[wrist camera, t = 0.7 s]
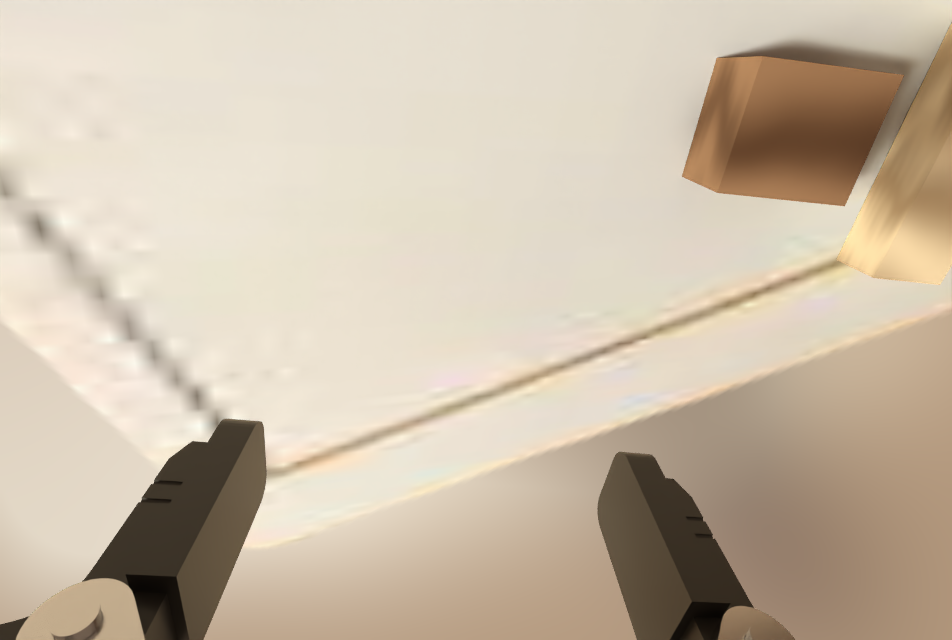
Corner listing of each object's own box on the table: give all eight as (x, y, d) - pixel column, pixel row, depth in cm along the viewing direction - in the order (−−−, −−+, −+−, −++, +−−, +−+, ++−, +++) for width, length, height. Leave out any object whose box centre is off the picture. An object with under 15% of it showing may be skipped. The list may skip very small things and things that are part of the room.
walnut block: (715, 58, 29) (762, 56, 25) (837, 74, 30) (904, 74, 26) (680, 176, 33) (717, 192, 28) (791, 187, 33) (844, 206, 29)
